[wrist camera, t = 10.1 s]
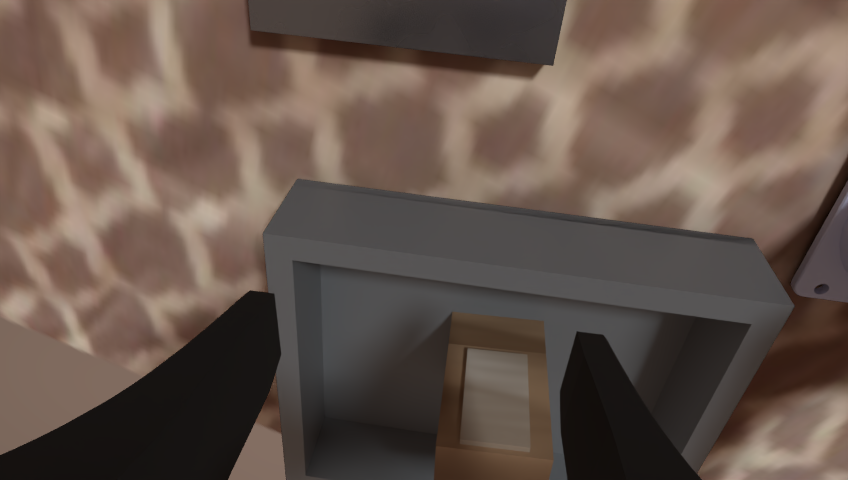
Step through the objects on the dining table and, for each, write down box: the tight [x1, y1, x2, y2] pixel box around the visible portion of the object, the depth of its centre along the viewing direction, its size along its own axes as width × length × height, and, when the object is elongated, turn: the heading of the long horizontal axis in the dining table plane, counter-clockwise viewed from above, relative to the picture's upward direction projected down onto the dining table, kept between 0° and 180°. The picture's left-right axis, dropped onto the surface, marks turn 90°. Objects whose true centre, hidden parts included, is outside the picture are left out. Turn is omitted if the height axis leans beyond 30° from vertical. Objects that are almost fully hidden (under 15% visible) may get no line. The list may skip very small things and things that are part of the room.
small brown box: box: [434, 312, 554, 480], centre depth 24 cm, size 4×4×7 cm
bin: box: [263, 179, 795, 480], centre depth 26 cm, size 18×15×4 cm
